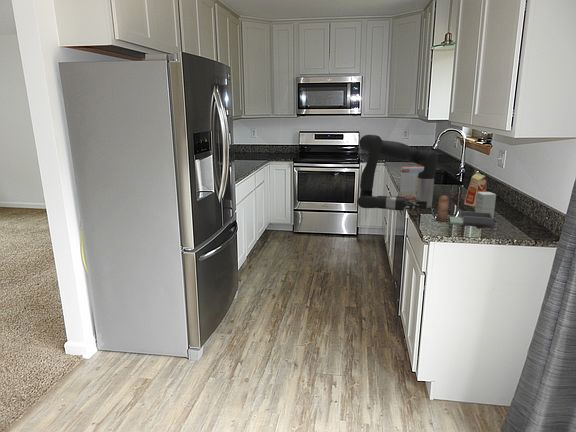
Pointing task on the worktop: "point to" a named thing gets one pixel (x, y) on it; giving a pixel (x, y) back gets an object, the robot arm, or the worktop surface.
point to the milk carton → (475, 188)
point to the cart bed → (474, 219)
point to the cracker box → (409, 182)
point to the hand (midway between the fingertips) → (426, 205)
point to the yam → (443, 208)
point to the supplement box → (485, 202)
